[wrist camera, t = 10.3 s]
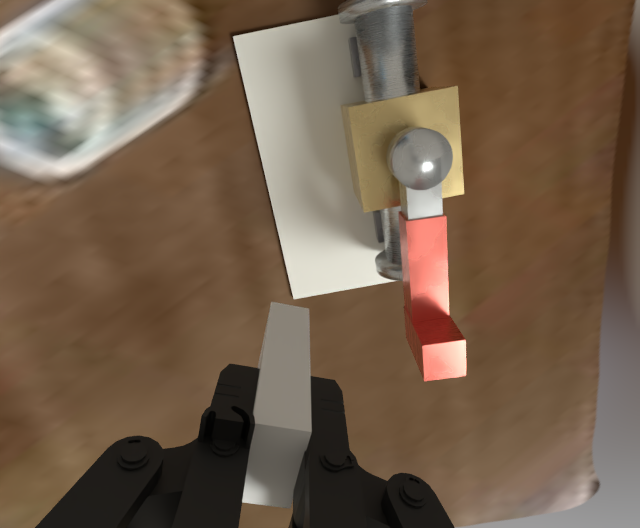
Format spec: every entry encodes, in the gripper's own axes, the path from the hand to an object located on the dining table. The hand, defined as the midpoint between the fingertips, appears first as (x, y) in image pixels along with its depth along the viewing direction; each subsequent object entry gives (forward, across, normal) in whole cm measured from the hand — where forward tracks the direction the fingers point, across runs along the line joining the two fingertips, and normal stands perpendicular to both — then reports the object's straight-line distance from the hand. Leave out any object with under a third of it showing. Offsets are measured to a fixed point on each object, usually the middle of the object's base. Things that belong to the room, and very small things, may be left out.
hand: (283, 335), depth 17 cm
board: (+26, +4, +3) cm, 27 cm away
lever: (+17, +10, 0) cm, 19 cm away
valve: (+26, +8, +6) cm, 28 cm away
